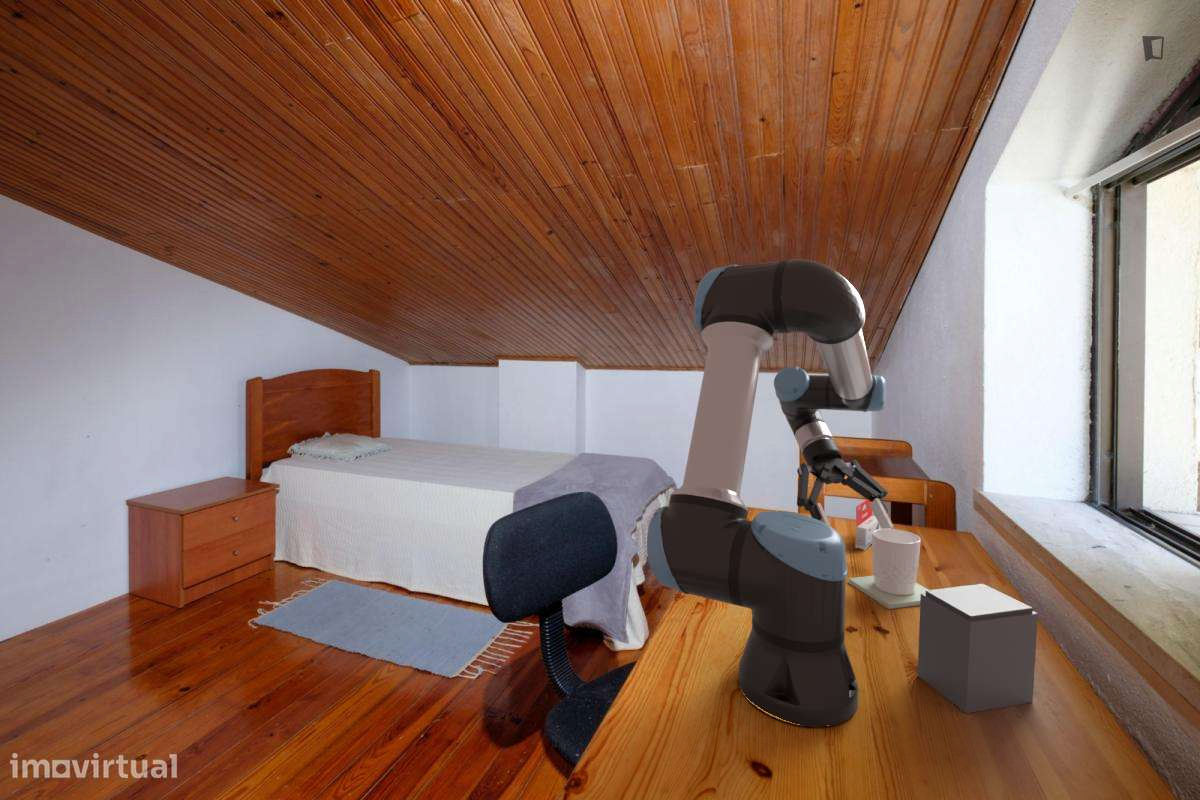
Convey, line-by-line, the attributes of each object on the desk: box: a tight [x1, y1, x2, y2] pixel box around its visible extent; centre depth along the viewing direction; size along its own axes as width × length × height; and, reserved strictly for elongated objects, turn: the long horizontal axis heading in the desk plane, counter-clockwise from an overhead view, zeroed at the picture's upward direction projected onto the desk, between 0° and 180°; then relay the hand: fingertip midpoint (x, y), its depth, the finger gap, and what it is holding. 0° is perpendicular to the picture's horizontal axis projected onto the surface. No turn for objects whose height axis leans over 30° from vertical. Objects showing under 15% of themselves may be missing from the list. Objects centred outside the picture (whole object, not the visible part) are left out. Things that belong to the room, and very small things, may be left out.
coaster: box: [848, 575, 929, 610], centre depth 101 cm, size 11×11×1 cm
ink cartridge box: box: [854, 499, 882, 551], centre depth 125 cm, size 2×11×10 cm, turn 137°
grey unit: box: [917, 583, 1039, 714], centre depth 72 cm, size 11×8×13 cm
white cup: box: [871, 528, 922, 595], centre depth 100 cm, size 8×8×10 cm
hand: (859, 532), depth 110 cm, fingers open, 13 cm apart
